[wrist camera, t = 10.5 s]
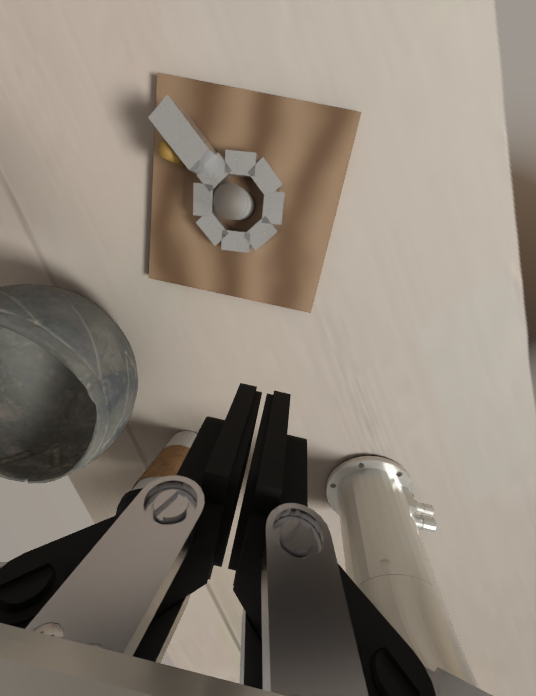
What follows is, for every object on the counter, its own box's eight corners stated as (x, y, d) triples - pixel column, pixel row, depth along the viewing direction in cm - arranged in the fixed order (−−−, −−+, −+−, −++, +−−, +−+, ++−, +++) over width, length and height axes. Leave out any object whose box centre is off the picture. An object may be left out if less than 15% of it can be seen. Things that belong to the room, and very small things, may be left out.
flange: (212, 86, 30) (195, 60, 25) (302, 211, 33) (301, 209, 28) (149, 157, 33) (123, 146, 28) (237, 267, 36) (227, 273, 31)
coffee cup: (152, 438, 48) (90, 524, 35) (192, 414, 46) (143, 496, 32) (186, 475, 50) (141, 570, 37) (227, 454, 48) (195, 548, 34)
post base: (359, 116, 31) (374, 86, 24) (310, 310, 38) (311, 328, 32) (162, 78, 31) (123, 38, 25) (153, 276, 39) (121, 287, 32)
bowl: (86, 431, 49) (1, 512, 36) (-8, 315, 43) (-155, 357, 30) (194, 383, 44) (144, 456, 30) (104, 243, 38) (-12, 253, 24)
